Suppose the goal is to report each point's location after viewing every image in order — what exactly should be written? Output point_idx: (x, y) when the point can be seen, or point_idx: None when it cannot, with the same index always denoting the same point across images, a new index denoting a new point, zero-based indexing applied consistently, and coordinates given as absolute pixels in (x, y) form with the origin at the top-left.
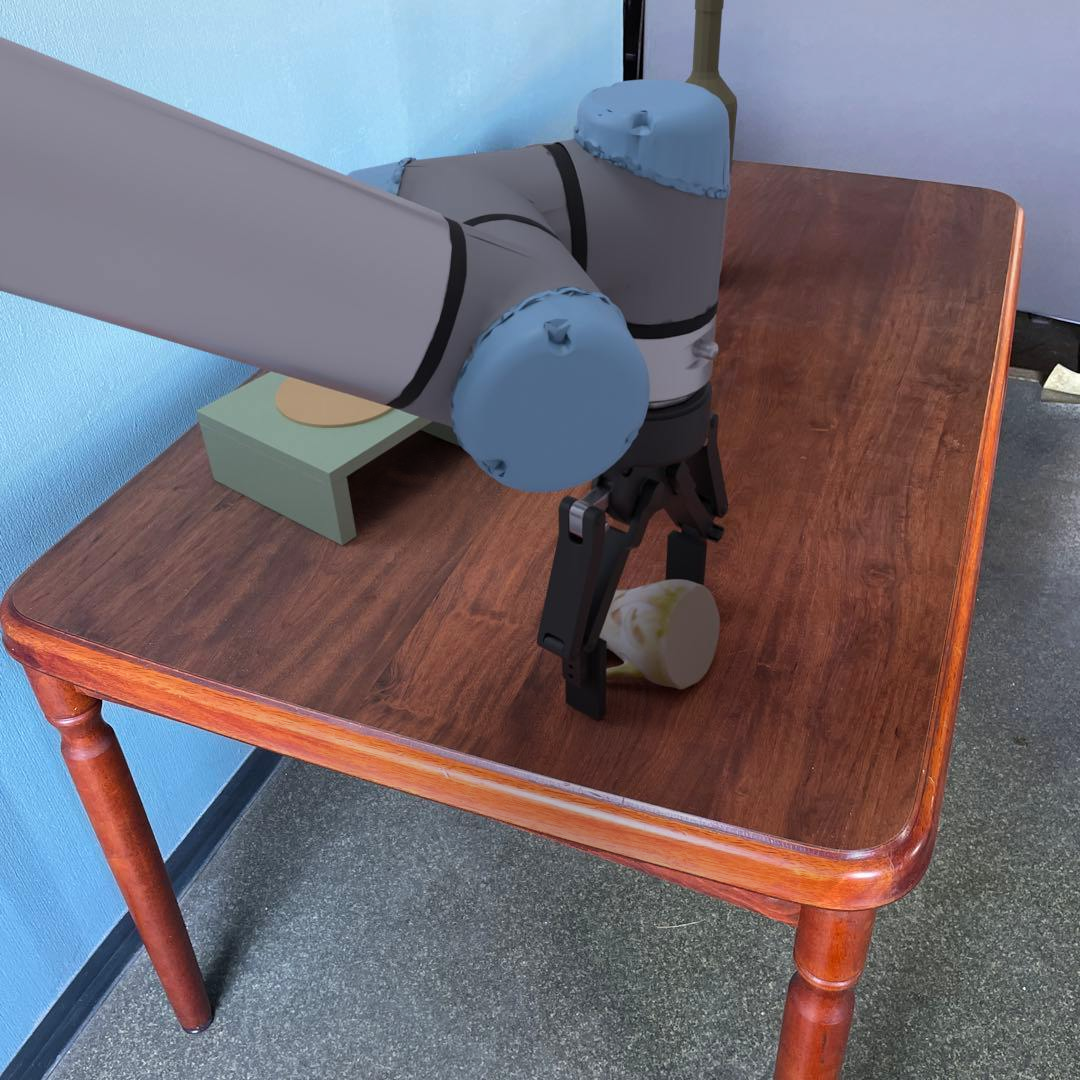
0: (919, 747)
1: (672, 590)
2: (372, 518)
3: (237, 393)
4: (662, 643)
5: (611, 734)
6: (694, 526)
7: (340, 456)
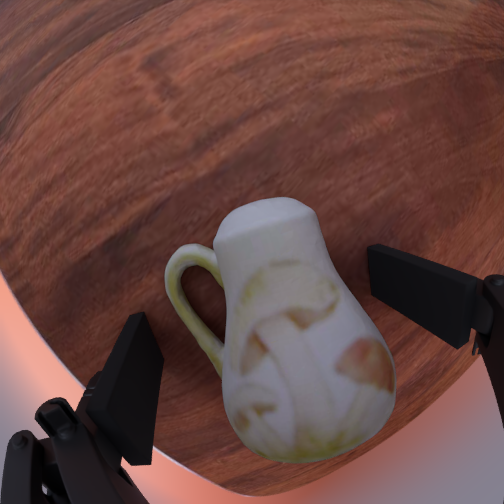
0: (347, 462)
1: (346, 439)
2: None
3: None
4: (253, 451)
5: None
6: (490, 360)
7: None
